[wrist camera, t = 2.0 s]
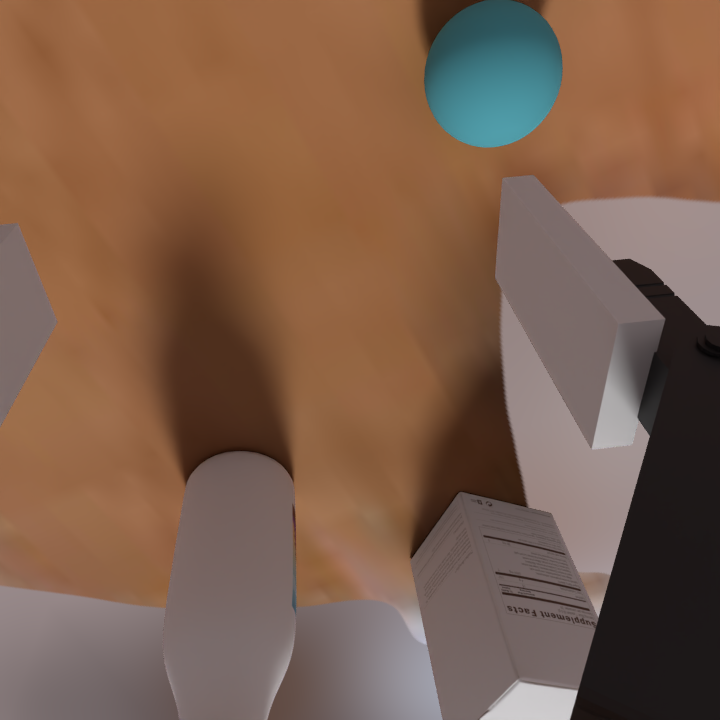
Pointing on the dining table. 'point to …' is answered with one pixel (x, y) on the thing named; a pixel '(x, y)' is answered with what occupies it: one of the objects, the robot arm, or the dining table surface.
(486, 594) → the supplement box
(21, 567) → the dining table surface
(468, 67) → the ball
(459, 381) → the dining table surface
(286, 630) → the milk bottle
